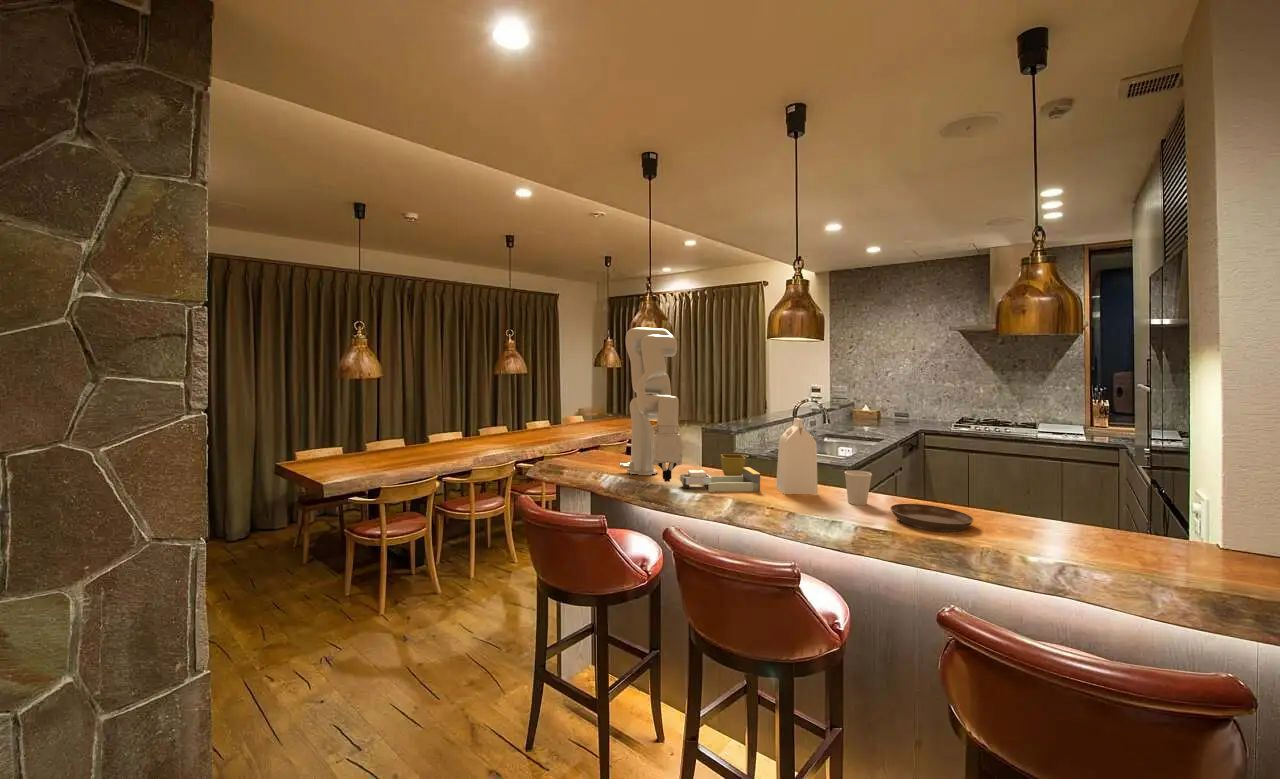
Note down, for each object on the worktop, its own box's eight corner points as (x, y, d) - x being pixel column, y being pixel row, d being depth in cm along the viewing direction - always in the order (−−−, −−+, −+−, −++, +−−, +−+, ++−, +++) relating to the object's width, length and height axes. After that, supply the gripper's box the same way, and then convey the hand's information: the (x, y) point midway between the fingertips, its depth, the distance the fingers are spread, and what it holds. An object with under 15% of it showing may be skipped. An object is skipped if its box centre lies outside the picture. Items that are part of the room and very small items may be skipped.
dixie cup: (854, 506, 167) (855, 475, 166) (838, 500, 175) (839, 470, 175) (877, 505, 169) (878, 474, 169) (859, 499, 177) (860, 470, 177)
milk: (817, 495, 182) (819, 420, 182) (784, 494, 183) (786, 419, 182) (807, 488, 194) (809, 417, 194) (776, 487, 195) (777, 417, 194)
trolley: (683, 489, 187) (683, 473, 187) (680, 485, 194) (680, 469, 194) (711, 489, 188) (712, 473, 188) (707, 485, 195) (707, 469, 195)
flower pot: (745, 480, 205) (746, 457, 205) (722, 480, 206) (723, 457, 205) (741, 476, 214) (742, 454, 214) (719, 476, 214) (720, 454, 214)
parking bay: (708, 492, 184) (709, 474, 184) (699, 483, 199) (700, 466, 199) (760, 492, 186) (761, 474, 185) (747, 483, 201) (748, 466, 201)
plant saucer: (979, 523, 151) (980, 512, 151) (964, 539, 135) (965, 526, 135) (901, 510, 164) (902, 500, 164) (880, 523, 149) (880, 511, 149)
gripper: (648, 431, 185) (647, 483, 185) (690, 431, 187) (689, 483, 187) (645, 429, 193) (645, 479, 193) (686, 429, 194) (685, 479, 194)
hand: (666, 481), depth 190 cm, fingers closed
